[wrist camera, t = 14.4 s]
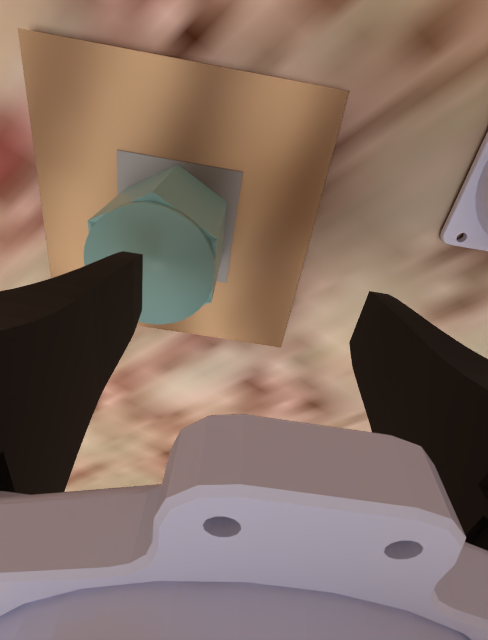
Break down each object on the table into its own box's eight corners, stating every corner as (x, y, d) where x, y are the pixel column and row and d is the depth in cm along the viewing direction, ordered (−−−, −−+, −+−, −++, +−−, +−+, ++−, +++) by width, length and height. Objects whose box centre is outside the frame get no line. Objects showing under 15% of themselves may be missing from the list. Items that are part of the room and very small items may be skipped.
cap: (196, 288, 22) (177, 347, 17) (104, 227, 20) (54, 275, 15) (250, 218, 19) (247, 265, 15) (152, 143, 18) (112, 168, 13)
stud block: (344, 90, 17) (371, 95, 13) (280, 336, 25) (283, 391, 21) (32, 30, 17) (-50, 15, 12) (64, 303, 24) (20, 353, 20)
